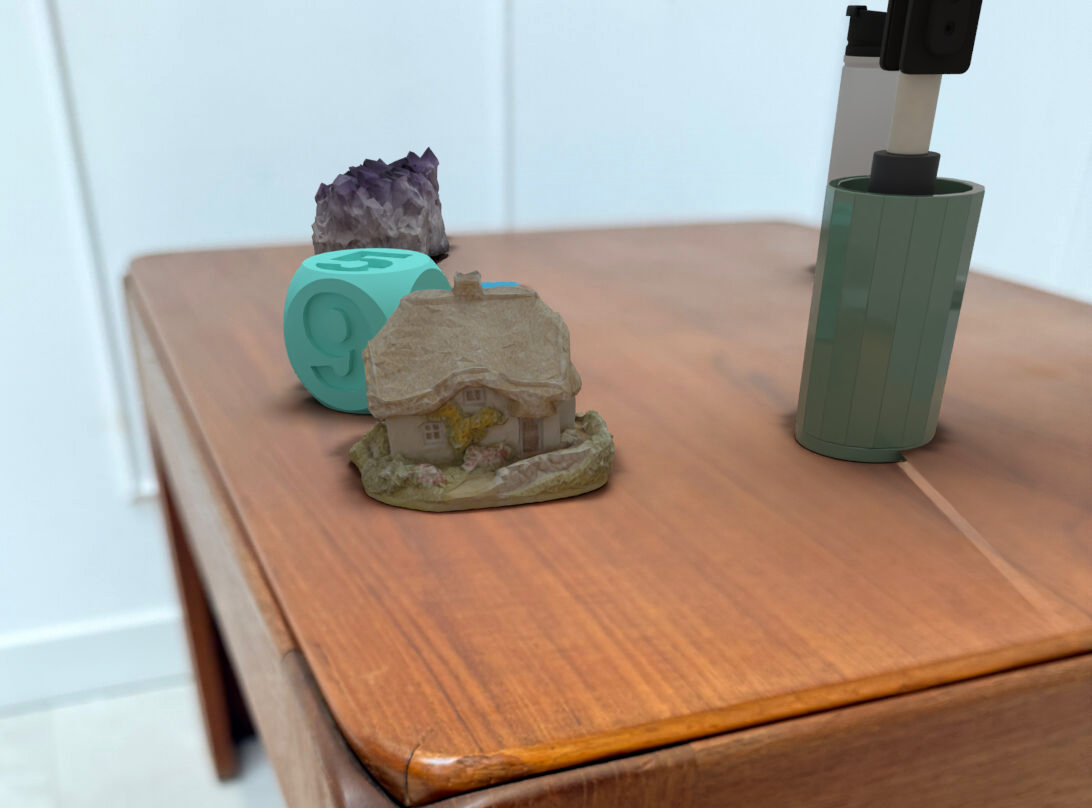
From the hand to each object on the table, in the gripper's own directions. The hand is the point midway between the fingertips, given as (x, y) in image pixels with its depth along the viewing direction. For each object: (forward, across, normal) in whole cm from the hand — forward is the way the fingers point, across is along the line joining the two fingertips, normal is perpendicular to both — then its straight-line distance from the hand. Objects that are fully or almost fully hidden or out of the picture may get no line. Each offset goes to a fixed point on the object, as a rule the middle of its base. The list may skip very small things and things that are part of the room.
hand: (922, 68), depth 52 cm
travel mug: (+18, +41, -12) cm, 47 cm away
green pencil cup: (+18, 0, 0) cm, 18 cm away
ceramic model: (+18, -3, +22) cm, 29 cm away
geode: (+18, +54, +29) cm, 64 cm away
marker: (+10, 0, 0) cm, 10 cm away
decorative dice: (+18, +11, +28) cm, 35 cm away
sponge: (+18, +32, +20) cm, 42 cm away
